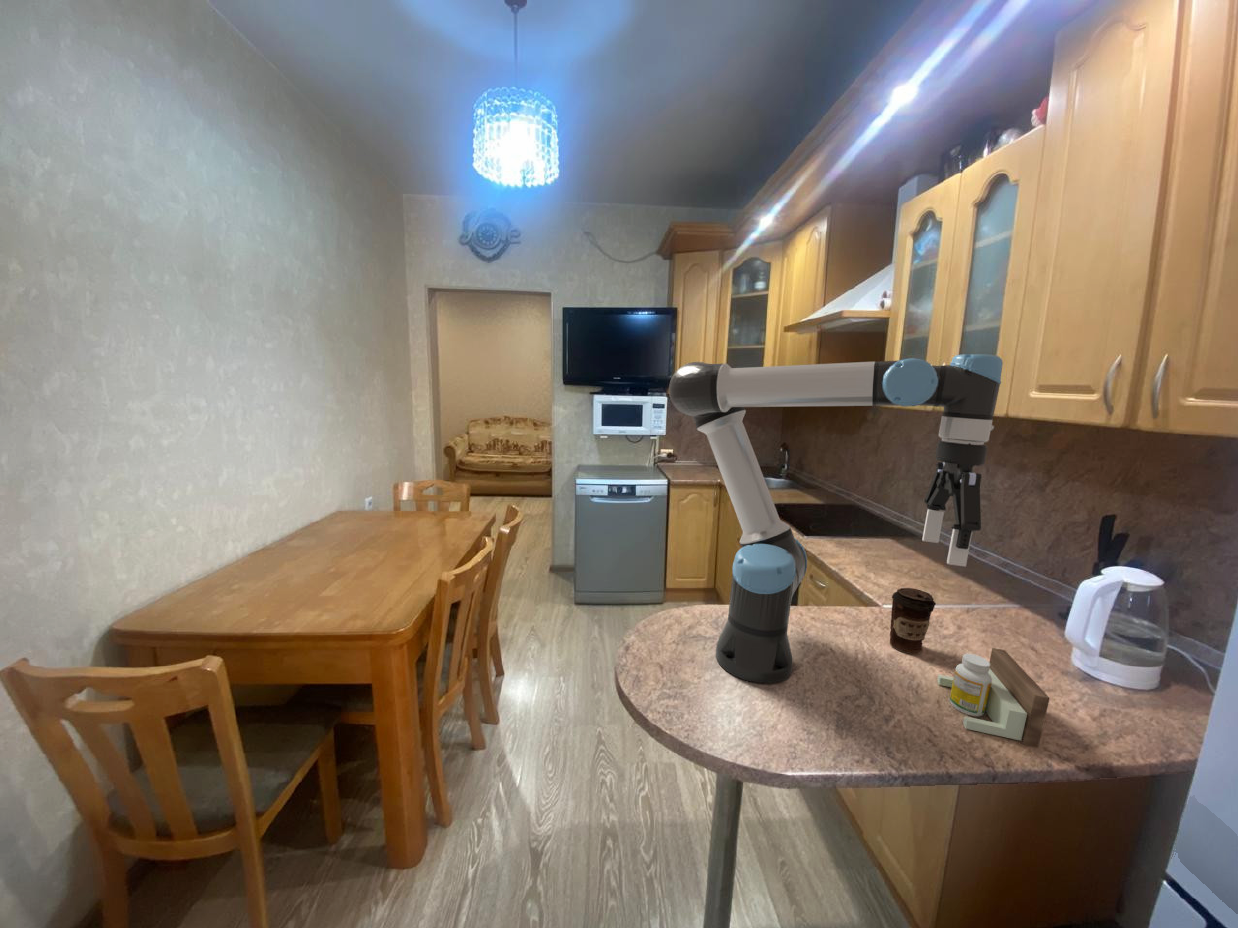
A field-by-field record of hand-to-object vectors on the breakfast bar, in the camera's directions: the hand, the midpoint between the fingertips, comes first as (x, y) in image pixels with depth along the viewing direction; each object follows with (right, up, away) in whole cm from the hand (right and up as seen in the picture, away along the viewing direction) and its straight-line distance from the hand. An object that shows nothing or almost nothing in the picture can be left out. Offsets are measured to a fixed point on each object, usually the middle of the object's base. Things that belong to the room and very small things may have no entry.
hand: (942, 552), depth 91 cm
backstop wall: (+8, -29, -5) cm, 30 cm away
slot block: (+4, -28, -4) cm, 28 cm away
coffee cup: (+3, -25, +17) cm, 30 cm away
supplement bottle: (+2, -28, -3) cm, 28 cm away
